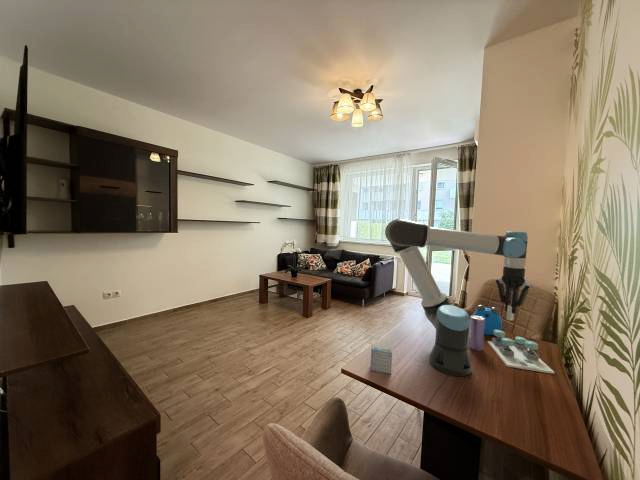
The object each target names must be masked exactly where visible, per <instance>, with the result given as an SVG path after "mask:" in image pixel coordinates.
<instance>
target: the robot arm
mask: <svg viewBox="0 0 640 480" xmlns="http://www.w3.org/2000/svg"><path fill="white" fill-rule="evenodd" d="M384 235H385V238H386V240H387V241H388V242H389V244H390V246H391V248H392V249H393V252H394V253H395V254H398V255H399V256H400V258H401V259H402V262H403V263H404V266H405V267H406V270H407V272H408V274H409V275H410V277H411V279H412V282H413V283H414V285H415V287H416V288H417V291H418V293H419V295H420V298H421V299H422V300H421V303H420V305H421V306H422V309H423V310H424V315H425V317H426V319H427V320H428V321H429V322H430V323H431V324H432V326H433V327H434V329H435V339H434V340H435V342H434V344H433V347H432V350H431V352H430V354H429V363H430V365H431V366H432V368H434V369H436V370H437V371H439V372H441V373H444V374H446V375H449V376H453V377H465V376H469V375H470V374H471V373H472V364H471V360H470V356H469V353H468V347H469V346H468V338H469V325H470V315H469V313H468V312H467V311H466V310H465V309H463V308H460V307H459V306H455V305H452V304H451V302H450V300H449V299H448V298H449V297H448V296H447V295H446V294H445V293H443V292H441V289H440V288H439V286H438V284H437V282H436V280H435V279H434V278H435V277H433V274H432V272H431V270H430V268H429V267H428V264H427V262H426V261H425V257H424V255H422V253H421V251H420V249H419V248H425V247H426V246H429V247H437V248H445V249H450V250H459V251H467V252H474V253H481V254H489V255H494V256H495V255H497V256H504V257H503V268H502V276H501V278H500V279H495V283H496V285H497V288H498V294H499V300H500V302H501V303H504V305H505V306H504V312H506V321H507V320H508V321H514V317H515V314H517V311H518V309H517V307H520V306H523V305H524V301H525V300H526V297H527V294H528V292H529V291H530V289H532V287H533V286H532V285H531V284H528V283H526V279H525V277H526V276H525V274H526V269H525V267H526V262H527V261H526V260H527V249H528V242H529V241H528V233H527V232H526V231H517V230H516V231H515V230H513V231H512V230H511V231H510V230H507V231H506V232H505V235H496V234H495V235H494V234H488V233H482V232H474V231H473V232H472V231H466V230H465V231H464V230H458V229H457V230H456V229H449V228H441V227H434V226H433V227H432V226H429V224H427V223H422V222H417V221H412V220H409V219H405V218H396V219H393V220H391V221H390V222H389V223H388V224H387V225H386V227H385V233H384ZM504 285H505V286H504ZM521 287H522V290H521V292H520V295H519V290H520V288H521Z"/></svg>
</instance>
